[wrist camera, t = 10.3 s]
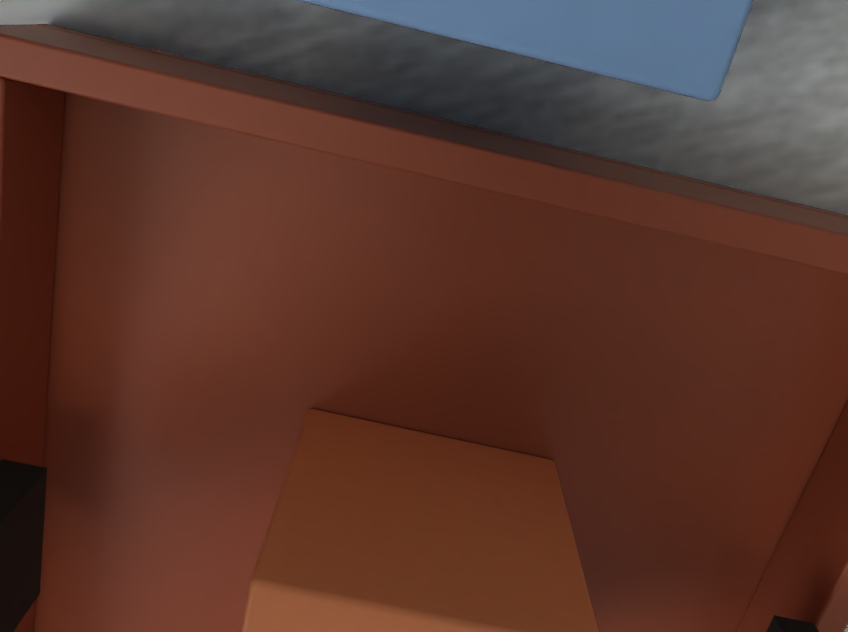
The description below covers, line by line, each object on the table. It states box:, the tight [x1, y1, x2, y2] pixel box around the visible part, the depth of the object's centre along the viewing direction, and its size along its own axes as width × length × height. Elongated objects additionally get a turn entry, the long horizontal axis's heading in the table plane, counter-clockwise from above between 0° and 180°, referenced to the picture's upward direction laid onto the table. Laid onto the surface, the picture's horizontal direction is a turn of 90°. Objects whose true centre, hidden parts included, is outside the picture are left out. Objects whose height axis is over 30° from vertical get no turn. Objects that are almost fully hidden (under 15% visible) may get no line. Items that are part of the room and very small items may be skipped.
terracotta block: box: [240, 409, 598, 632], centre depth 14 cm, size 5×5×5 cm
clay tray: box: [0, 24, 848, 632], centre depth 15 cm, size 16×16×2 cm
